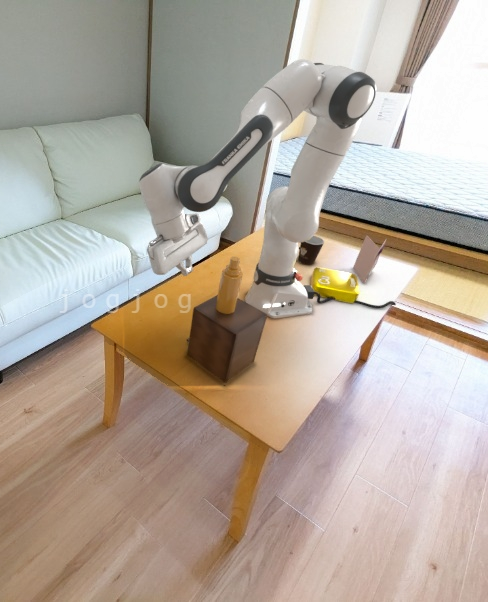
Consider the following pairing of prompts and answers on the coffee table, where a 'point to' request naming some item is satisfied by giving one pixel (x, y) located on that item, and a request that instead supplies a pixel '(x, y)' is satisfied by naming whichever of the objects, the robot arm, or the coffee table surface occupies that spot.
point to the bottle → (229, 287)
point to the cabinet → (225, 337)
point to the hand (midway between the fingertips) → (188, 273)
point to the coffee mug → (310, 250)
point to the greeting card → (367, 259)
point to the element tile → (335, 284)
